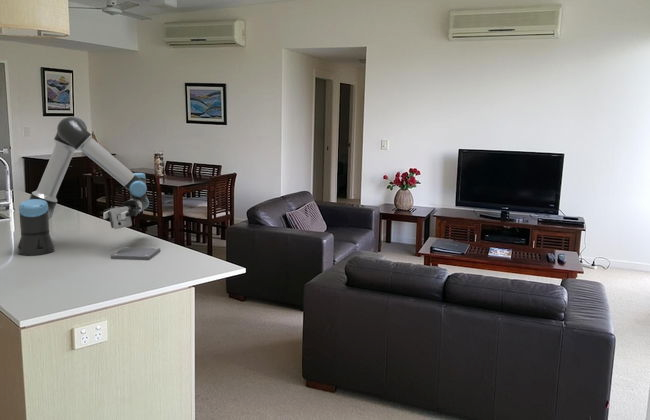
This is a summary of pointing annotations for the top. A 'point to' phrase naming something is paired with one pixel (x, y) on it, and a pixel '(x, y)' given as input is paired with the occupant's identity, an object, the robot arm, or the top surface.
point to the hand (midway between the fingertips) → (113, 216)
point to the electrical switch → (119, 218)
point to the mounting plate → (135, 253)
